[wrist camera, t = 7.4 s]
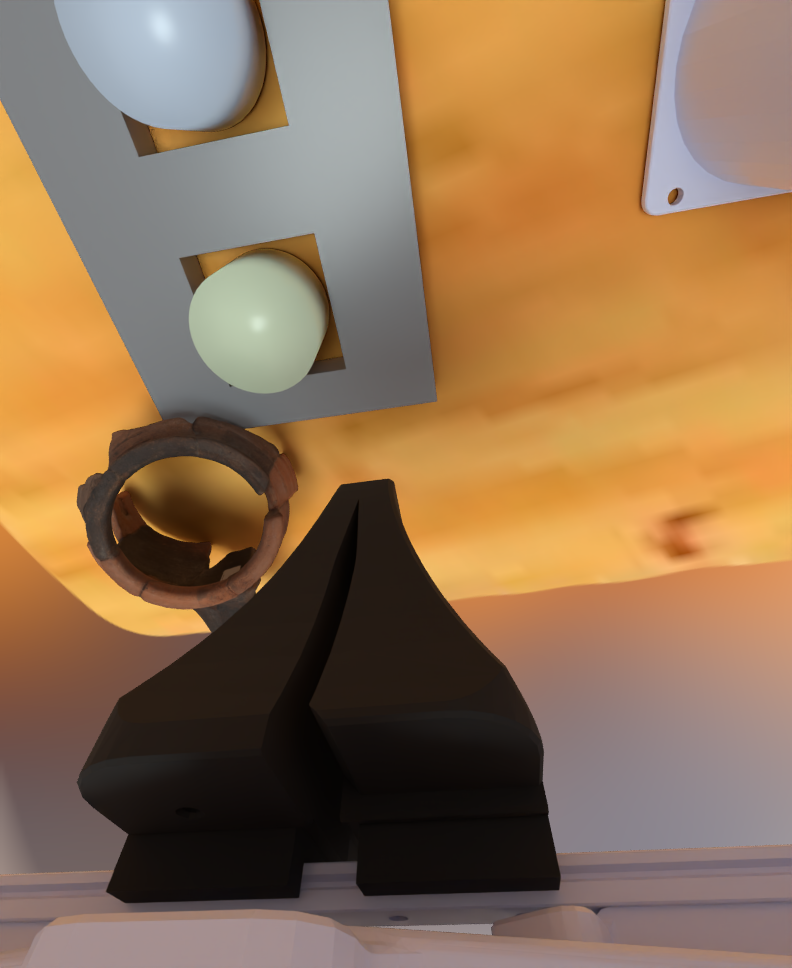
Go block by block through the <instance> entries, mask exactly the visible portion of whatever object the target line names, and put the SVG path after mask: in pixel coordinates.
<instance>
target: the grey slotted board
mask: <svg viewBox="0 0 792 968" xmlns="http://www.w3.org/2000/svg"><path fill="white" fill-rule="evenodd" d="M259 1H260V5H261V9H262V13H263V18H264V22H265V26H266V30H267V35H268V39H269V43H270V47H271V51H272V56H273V60H274V64H275V68H276V73H277V77H278V81H279V85H280V90H281V94H282V98H283V102H284V107H285V111H286V115H287V119H288V124H289V126H284V127H279V128H275V129H270V130H265V131H260V132H256V133H251V134H246V135H242V136H237V137H232V138H227V139H223V140H218V141H213V142H208V143H204V144H199V145H194V146H189V147H185V148H180V149H175V150H170V151H166V152H161V153H157V150H156V148H155V145H154V142H153V140H152V137H151V134H150V132H149V129H148V126H147V124H144V123H141V122H139V121H137V120H135V119H133V118H131V117H130V116H128V115H126V114H125V113H123V112H122V111H120V110H119V109H118V108H117V107H115V106H114V105H113V104H112V103H111V102H109V101H108V100H107V99H106V98H105V97H104V96H103V95H102V94H101V93H100V92H99V91H98V89H97V88H96V87H95V86H94V85H93V83H92V82H91V81H90V80H89V78H88V77H87V76H86V74H85V73H84V71H83V70H82V68H81V67H80V65H79V64H78V62H77V60H76V58H75V57H74V55H73V53H72V51H71V49H70V47H69V45H68V43H67V40H66V38H65V36H64V33H63V30H62V28H61V25H60V22H59V19H58V15H57V12H56V8H55V4H54V0H0V100H1V102H2V104H3V106H4V108H5V110H6V112H7V114H8V116H9V118H10V120H11V122H12V124H13V126H14V128H15V130H16V132H17V134H18V136H19V138H20V140H21V142H22V144H23V145H24V147H25V149H26V151H27V153H28V155H29V157H30V159H31V161H32V163H33V165H34V167H35V169H36V171H37V173H38V175H39V177H40V179H41V181H42V183H43V185H44V187H45V189H46V191H47V193H48V195H49V197H50V199H51V201H52V203H53V205H54V207H55V209H56V210H57V212H58V214H59V216H60V218H61V220H62V222H63V224H64V226H65V228H66V230H67V232H68V234H69V236H70V238H71V240H72V242H73V244H74V246H75V248H76V250H77V252H78V254H79V256H80V258H81V260H82V262H83V264H84V266H85V268H86V270H87V272H88V274H89V275H90V277H91V279H92V281H93V283H94V285H95V287H96V289H97V291H98V293H99V295H100V297H101V299H102V301H103V303H104V305H105V307H106V309H107V311H108V313H109V315H110V317H111V319H112V321H113V323H114V325H115V327H116V329H117V331H118V333H119V335H120V337H121V339H122V340H123V342H124V344H125V346H126V348H127V350H128V352H129V354H130V356H131V358H132V360H133V362H134V364H135V366H136V368H137V370H138V372H139V374H140V376H141V378H142V380H143V382H144V384H145V386H146V388H147V390H148V392H149V394H150V396H151V398H152V400H153V402H154V404H155V405H156V407H157V409H158V411H159V413H160V415H161V417H162V419H163V420H167V419H172V418H177V417H180V418H184V419H185V420H187V421H188V422H190V423H193V422H194V421H195V419H196V418H197V417H207V418H211V419H215V420H218V421H223V422H227V423H230V424H232V425H235V426H238V427H240V428H242V429H246V428H253V427H260V426H267V425H274V424H281V423H288V422H295V421H302V420H309V419H316V418H323V417H330V416H337V415H345V414H352V413H359V412H366V411H373V410H380V409H387V408H394V407H401V406H408V405H415V404H422V403H429V402H436V401H437V396H436V387H435V379H434V371H433V363H432V355H431V347H430V338H429V330H428V322H427V314H426V306H425V297H424V289H423V281H422V273H421V265H420V257H419V248H418V240H417V232H416V224H415V216H414V207H413V199H412V191H411V183H410V175H409V167H408V158H407V150H406V142H405V134H404V126H403V117H402V109H401V101H400V93H399V85H398V77H397V68H396V60H395V52H394V44H393V36H392V27H391V19H390V11H389V3H388V0H259ZM312 233H314V234H315V238H316V243H317V247H318V251H319V255H320V260H321V264H322V268H323V272H324V277H325V281H326V285H327V289H328V294H329V298H330V302H331V306H332V311H333V315H334V319H335V323H336V328H337V332H338V336H339V340H340V345H341V349H342V353H343V357H339V358H333V359H326V360H320V361H314V362H313V365H312V367H311V368H310V370H309V372H308V373H307V374H306V376H305V377H304V378H303V379H302V380H301V381H300V382H298V383H297V384H296V385H294V386H292V387H290V388H289V389H286V390H283V391H280V392H276V393H267V394H263V393H253V392H248V391H245V390H242V389H239V388H237V387H234V386H232V385H231V384H229V383H227V382H225V381H224V380H222V379H221V378H220V377H219V376H217V375H216V374H215V373H214V372H213V371H212V370H211V369H210V368H209V367H208V366H207V365H206V363H205V362H204V361H203V360H202V358H201V356H200V355H199V353H198V352H197V349H196V347H195V345H194V343H193V340H192V337H191V333H190V328H189V310H190V304H191V301H192V298H193V296H194V294H195V292H196V290H197V289H198V287H199V286H200V285H201V283H202V282H203V281H204V280H205V278H204V275H203V273H202V270H201V267H200V265H199V262H198V259H197V257H196V255H198V254H204V253H209V252H214V251H220V250H225V249H231V248H236V247H242V246H247V245H252V244H258V243H263V242H269V241H274V240H279V239H285V238H290V237H296V236H301V235H306V234H312Z"/></svg>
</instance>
